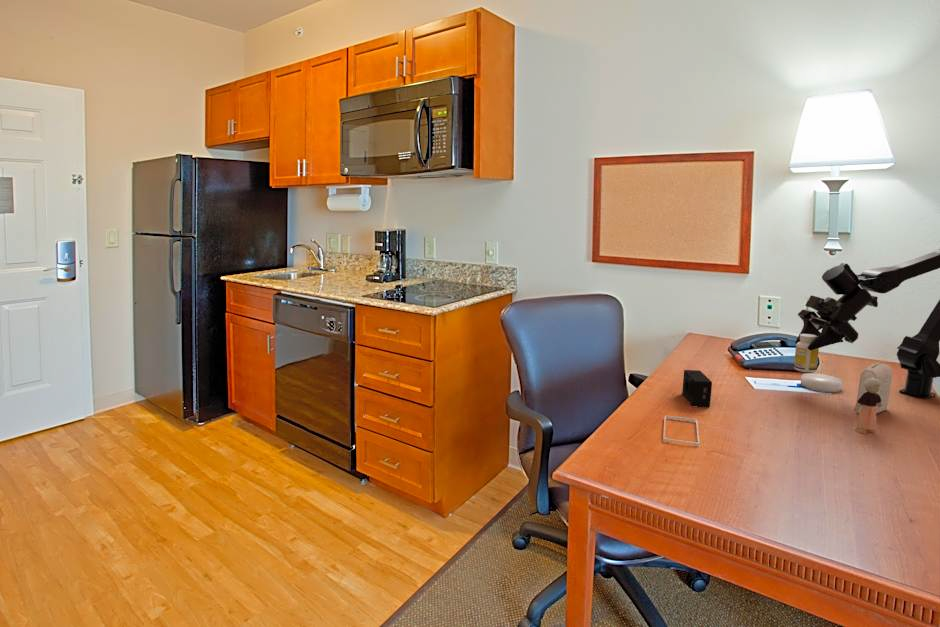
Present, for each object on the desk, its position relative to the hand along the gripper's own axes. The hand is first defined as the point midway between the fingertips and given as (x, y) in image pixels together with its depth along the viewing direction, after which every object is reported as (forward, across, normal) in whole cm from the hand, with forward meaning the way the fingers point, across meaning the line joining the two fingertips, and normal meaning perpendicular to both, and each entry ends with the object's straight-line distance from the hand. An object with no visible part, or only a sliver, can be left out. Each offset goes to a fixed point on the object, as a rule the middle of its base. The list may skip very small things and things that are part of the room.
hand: (802, 346), depth 154 cm
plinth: (+2, -6, +17) cm, 18 cm away
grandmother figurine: (+9, +27, +10) cm, 30 cm away
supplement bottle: (+4, 0, +6) cm, 7 cm away
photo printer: (+2, +14, +17) cm, 22 cm away
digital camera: (+32, +7, -13) cm, 35 cm away
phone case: (+40, +28, -21) cm, 53 cm away
